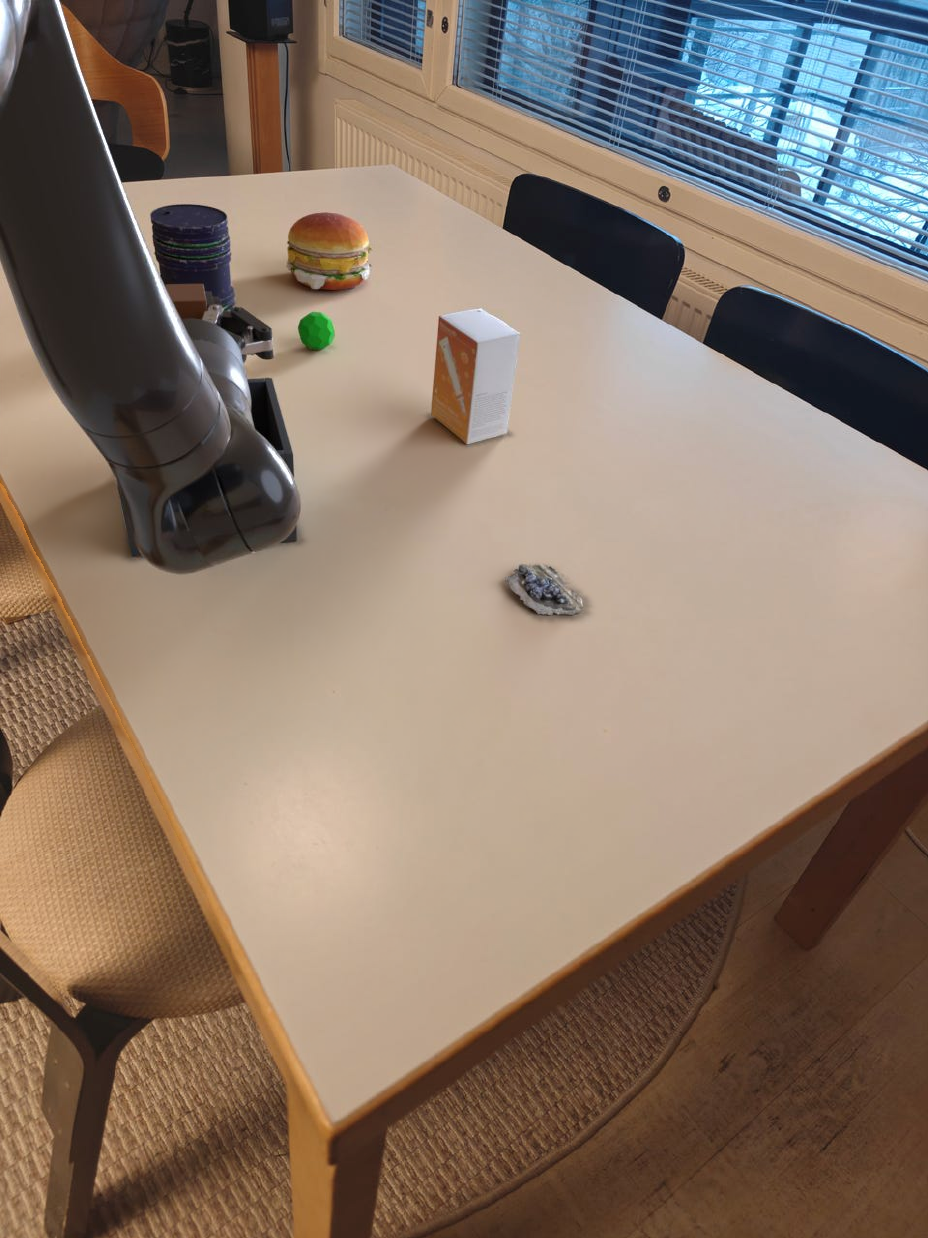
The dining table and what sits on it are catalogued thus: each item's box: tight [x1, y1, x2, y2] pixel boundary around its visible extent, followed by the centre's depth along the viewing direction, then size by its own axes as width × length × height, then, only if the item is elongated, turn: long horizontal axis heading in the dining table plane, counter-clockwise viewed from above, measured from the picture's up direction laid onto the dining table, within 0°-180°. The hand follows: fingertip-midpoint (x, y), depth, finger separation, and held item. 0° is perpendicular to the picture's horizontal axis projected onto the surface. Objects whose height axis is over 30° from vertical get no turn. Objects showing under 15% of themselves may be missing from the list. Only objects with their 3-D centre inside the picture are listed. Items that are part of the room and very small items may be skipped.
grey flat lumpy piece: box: [504, 563, 584, 616], centre depth 83 cm, size 7×8×2 cm
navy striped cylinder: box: [149, 203, 237, 312], centre depth 117 cm, size 10×10×15 cm
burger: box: [286, 211, 373, 291], centre depth 136 cm, size 13×14×10 cm
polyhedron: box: [297, 311, 336, 351], centre depth 118 cm, size 5×5×5 cm
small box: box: [430, 307, 521, 445], centre depth 103 cm, size 8×6×13 cm
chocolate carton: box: [166, 284, 207, 320], centre depth 79 cm, size 3×4×12 cm
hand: (186, 302), depth 78 cm, fingers closed on chocolate carton, 3 cm apart
